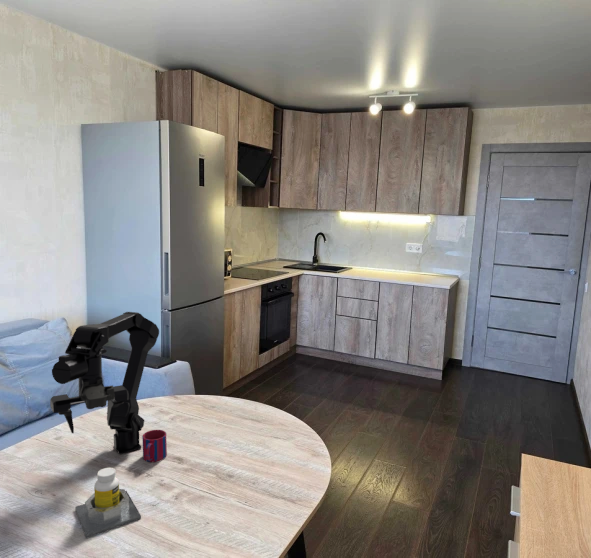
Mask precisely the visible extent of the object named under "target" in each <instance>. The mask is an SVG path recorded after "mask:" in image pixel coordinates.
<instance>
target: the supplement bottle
mask: <svg viewBox="0 0 591 558" xmlns="http://www.w3.org/2000/svg"><path fill="white" fill-rule="evenodd" d="M116 473H117V472H116V469H115V468H113V467H104V468H101V469H99V470H98V471H97V474H96V476H97V477H96V478H97V480H96V481H95V482H94V486H93V487H94V493H95V508H99V509H107V508H110V507H113V506H116V505H118V504H119V489H120V480H119V478H118V477H116V475H117V474H116Z"/></svg>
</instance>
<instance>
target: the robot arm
mask: <svg viewBox="0 0 591 558" xmlns="http://www.w3.org/2000/svg"><path fill="white" fill-rule="evenodd" d="M125 331H126V332H127V333H128V334H129V338H128V341H129V343H130V347H131V351H130V354H129V358H128V361H127V365H126V369H125V373H124V377H123V381H122V384H121V385H120V384H119V385H115V386H114V385H107V386H106V385H105V386H104V383H103V381H104V380H103V377H102V376H103V375H102V374H103V373H102V371H103V370H102V368H103V367H102V366H103V365H102V360H103V359H102V357H103V356H102V355H103V354H106V353H107V352H108V351H107V349H106V348H104V346H105V345H107V344H108V343H109V342H110V339H111V338H112V337H114V336H116V335H118V334H120V333H122V332H125ZM159 335H160V328H158V325H157V324H156V323H154V322H153V321H152V320H150V319H149V318H146V317H144V316H143V315H142V314H141V313H139V312H137V311H136V312H134V311H126V312H125V311H124V312H123V313H122V314H120V315H117V316H116V317H114V318H110V319H108V320H106V321H103V322H100V323H95V324H84V325H80V326H78V327H77V328H76V329H75V331H74V332H73V335H72V336H71V338H70V341H69V343H68V346H67V347H66V349H65V352H64V354H65V355H60V356H59V357H58V361H57V362H55V363H54V365H53V367H52V369H51V375H52V378H53V379H54V381H55V382H56V383H57V384H60V385H64V384H65V385H66V384H68V383H70V382H73V381H76V380H77V379H78V396H73V397H69V395H68V394H61V395H60V394H58V395H54V396H51V398H50V400H49V402H50V409H51V410H52V413H54V414H58V415H60V416H64V418H65V420H66V422H67V425H68V428H69V430H70V433H71V434H74V432H75V431H74V430H75V429H74V422H73V412H72V409H71V407H72V406H74V405H79V404H85V408H86V409H87V410H94V409H95V408H104V407H107V408H106V409H107V412H106V421H107V426H108V427H109V429H110V430H114V432H115V433H114V434H113V447H114V449H115V450H116V451H117V452H118V454H119V455H122V454H126V453H129V452H133V451H137V450H140V449H142V445H141V444H140V432H141V431H142V428H144V425H145V419H144V418H143V417H142V416H141V415H140V414H139V412H140V407H139V403H138V400H137V398H138V397H137V396H138V392H139V389H140V384H141V381H142V377H143V372H144V369H145V364H146V362H147V357H148V353H149V352H150V351H151V349H153V347H154V346H155V345H156V343H157V340H158V337H159Z"/></svg>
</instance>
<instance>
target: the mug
mask: <svg viewBox="0 0 591 558" xmlns="http://www.w3.org/2000/svg"><path fill="white" fill-rule="evenodd" d="M141 439H142V458H143V460H144V462H147V463H156V462H157V463H158V462H160V461H163V460H164V459H165V458H166V457H167V456H168V455H167V454H168V451H167V444H168V443H167V432H166V431H165V430H163V429H162V430H161V429H151V430H148V431H146V432H144V433H143V434H142V438H141Z"/></svg>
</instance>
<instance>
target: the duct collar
mask: <svg viewBox="0 0 591 558" xmlns="http://www.w3.org/2000/svg"><path fill="white" fill-rule="evenodd" d="M74 508H75V512H76V515H77V518H78V521H79V523H80V525H81V528H82V531H83V533H84V537H85V539H88V538H91V537H94V536H97V535H99V534H103V533H104V532H107V531H110V530H113V529H116V528H118V527H119V528H120V527H122V526H125V525H126V524H130V523H133V522H136V521H138V520H141V519H142V515H141V513H140V511H139V510H138V508H137V506H136V505H135V503H134V501H133V500H132V498H131V496H130V494H129V492H128V490H125V489H124V488H119V504H118V505H116V506H113V507H110V508H107V509H99V508H95V492H94V493H93V494H92V495H90V496H89V497H88V498H87V499H86V501H85V502H84V503H83V504H81V505H77V506H75V507H74Z"/></svg>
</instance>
